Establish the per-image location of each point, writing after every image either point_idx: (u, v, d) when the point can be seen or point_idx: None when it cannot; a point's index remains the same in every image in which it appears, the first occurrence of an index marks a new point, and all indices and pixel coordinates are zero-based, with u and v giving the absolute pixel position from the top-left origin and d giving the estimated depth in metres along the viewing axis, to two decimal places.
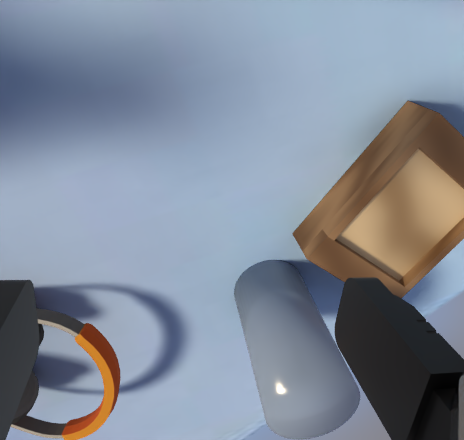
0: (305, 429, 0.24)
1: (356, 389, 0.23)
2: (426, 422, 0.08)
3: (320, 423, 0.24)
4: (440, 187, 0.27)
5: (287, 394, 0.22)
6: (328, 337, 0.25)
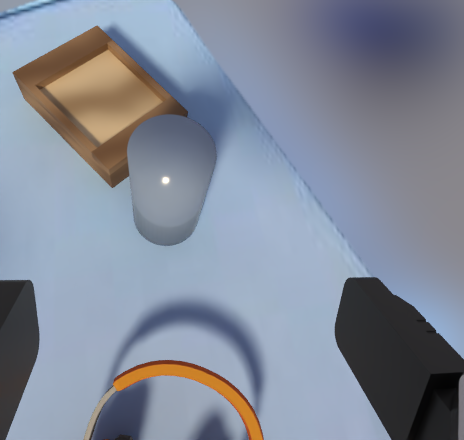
0: (200, 161, 0.26)
1: (162, 116, 0.27)
2: (426, 422, 0.08)
3: (197, 148, 0.26)
4: (83, 74, 0.36)
5: (144, 169, 0.25)
6: None
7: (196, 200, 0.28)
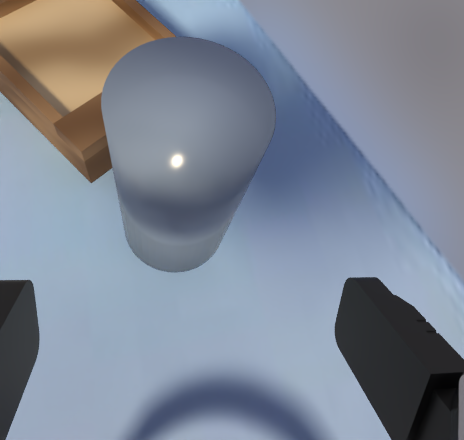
0: (247, 123, 0.13)
1: (170, 40, 0.14)
2: (426, 422, 0.08)
3: (239, 98, 0.14)
4: (46, 9, 0.24)
5: (136, 138, 0.12)
6: None
7: (234, 199, 0.15)
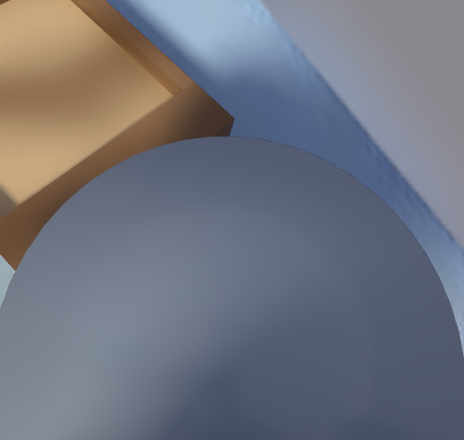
0: (397, 387, 0.05)
1: (189, 148, 0.06)
2: None
3: (368, 308, 0.05)
4: None
5: None
6: None
7: None
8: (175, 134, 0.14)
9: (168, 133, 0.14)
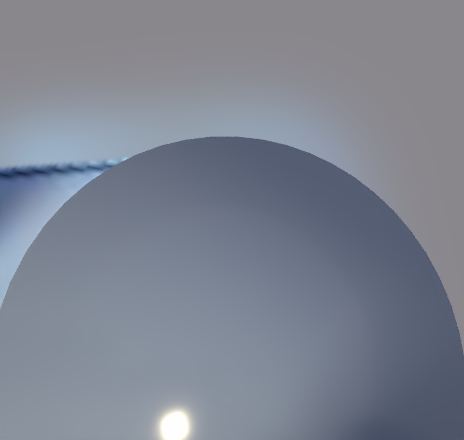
0: (397, 388, 0.05)
1: (189, 149, 0.06)
2: None
3: (369, 308, 0.05)
4: None
5: None
6: None
7: None
8: None
9: None
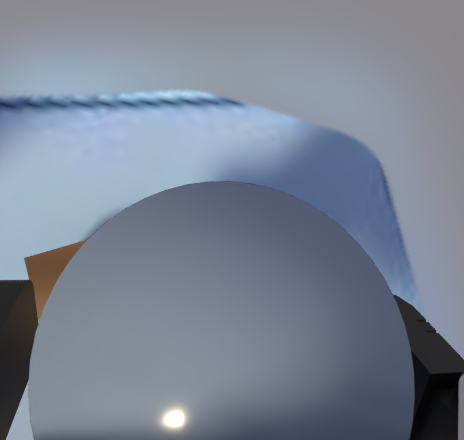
0: (356, 393, 0.06)
1: (189, 192, 0.07)
2: (426, 422, 0.08)
3: (336, 327, 0.06)
4: None
5: None
6: None
7: None
8: None
9: None
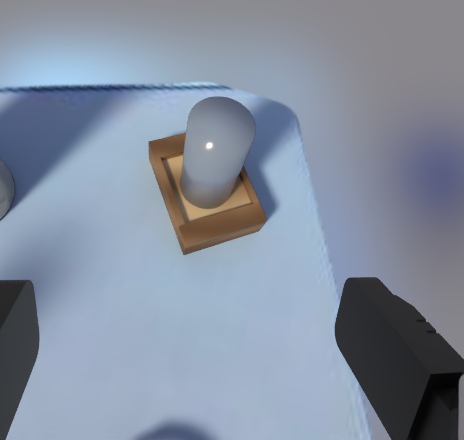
0: (244, 132, 0.33)
1: (213, 98, 0.34)
2: (426, 422, 0.08)
3: (241, 122, 0.33)
4: None
5: (201, 138, 0.32)
6: None
7: (238, 165, 0.35)
8: (245, 217, 0.42)
9: (242, 216, 0.42)
